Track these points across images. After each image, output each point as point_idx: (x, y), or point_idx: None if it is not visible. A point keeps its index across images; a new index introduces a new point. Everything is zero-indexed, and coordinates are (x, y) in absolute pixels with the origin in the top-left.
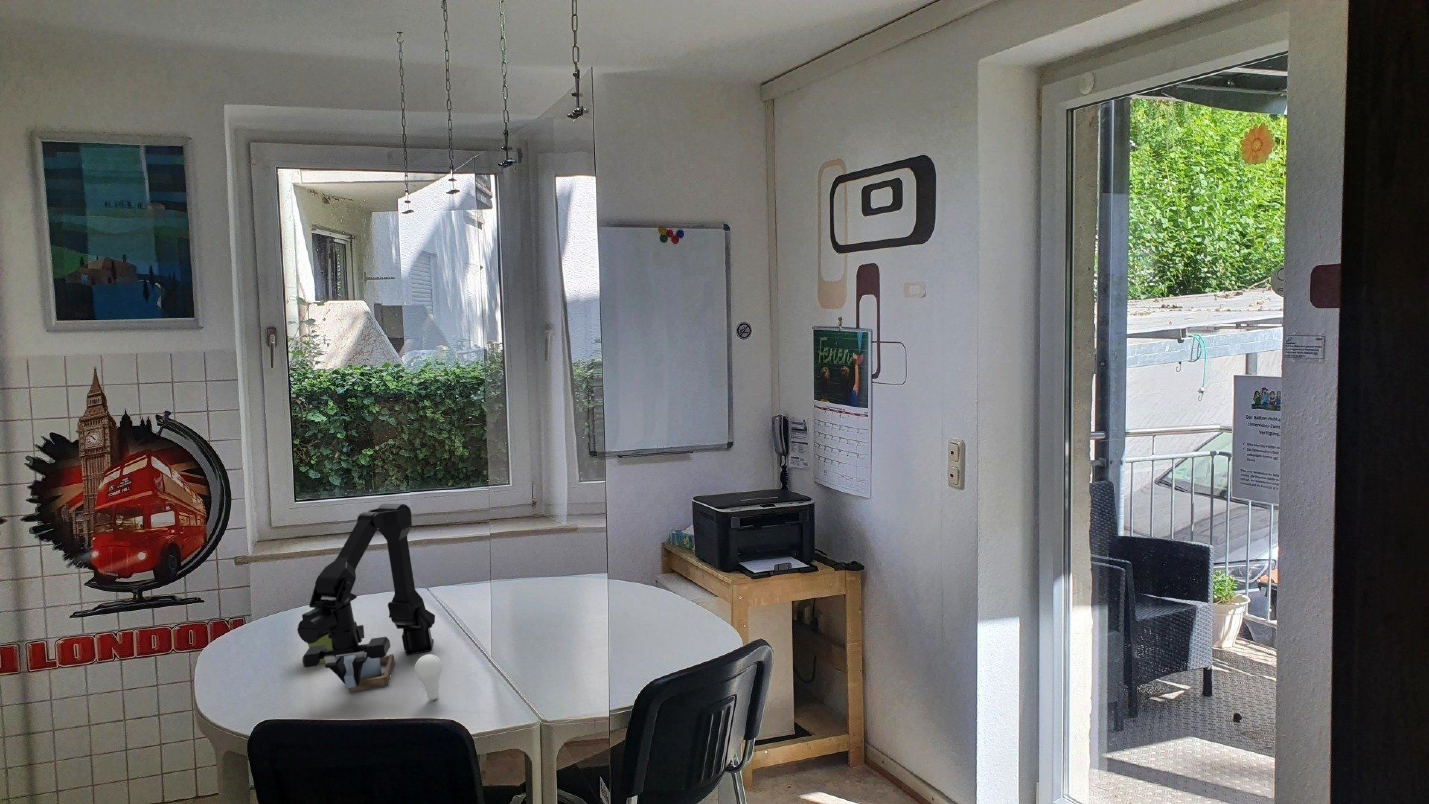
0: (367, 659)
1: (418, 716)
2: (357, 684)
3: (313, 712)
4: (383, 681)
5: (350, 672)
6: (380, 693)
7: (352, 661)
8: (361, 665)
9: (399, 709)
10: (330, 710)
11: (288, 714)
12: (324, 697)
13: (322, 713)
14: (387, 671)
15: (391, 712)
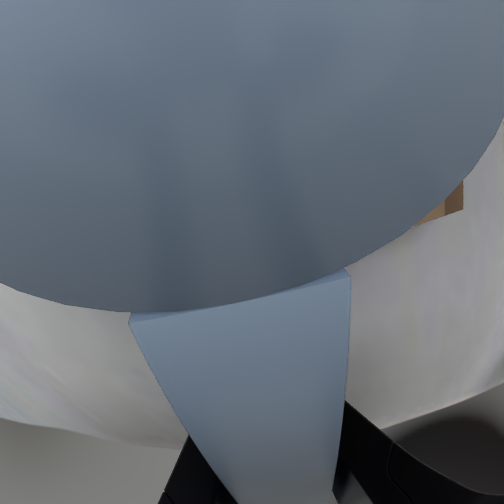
0: (448, 171)
1: (485, 388)
2: None
3: (99, 421)
4: None
5: (290, 501)
6: (394, 284)
7: (119, 309)
8: (417, 484)
9: (456, 378)
10: (172, 418)
11: (13, 410)
12: (35, 312)
13: (149, 430)
14: None
15: (434, 395)
